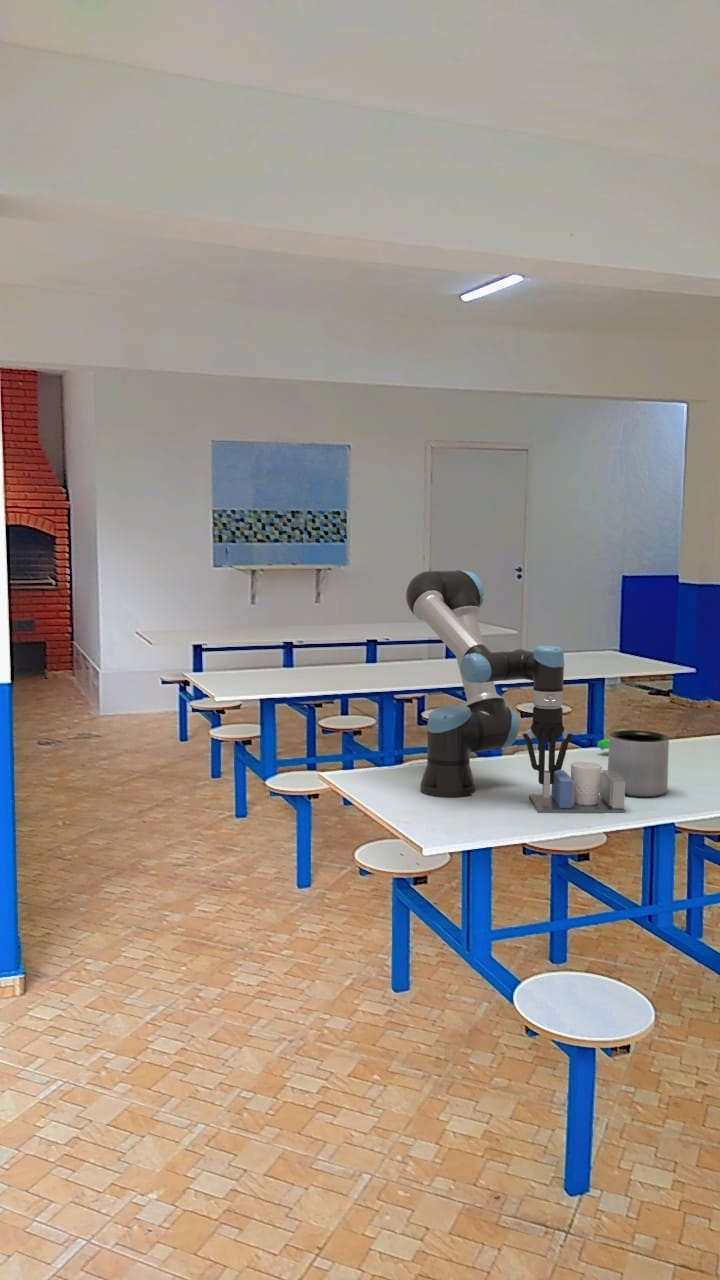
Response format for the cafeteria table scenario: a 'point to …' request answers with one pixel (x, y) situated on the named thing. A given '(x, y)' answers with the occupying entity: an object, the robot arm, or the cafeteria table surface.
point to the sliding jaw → (563, 789)
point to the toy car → (605, 743)
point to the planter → (640, 761)
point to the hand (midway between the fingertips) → (545, 796)
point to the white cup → (586, 782)
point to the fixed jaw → (612, 789)
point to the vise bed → (552, 807)
